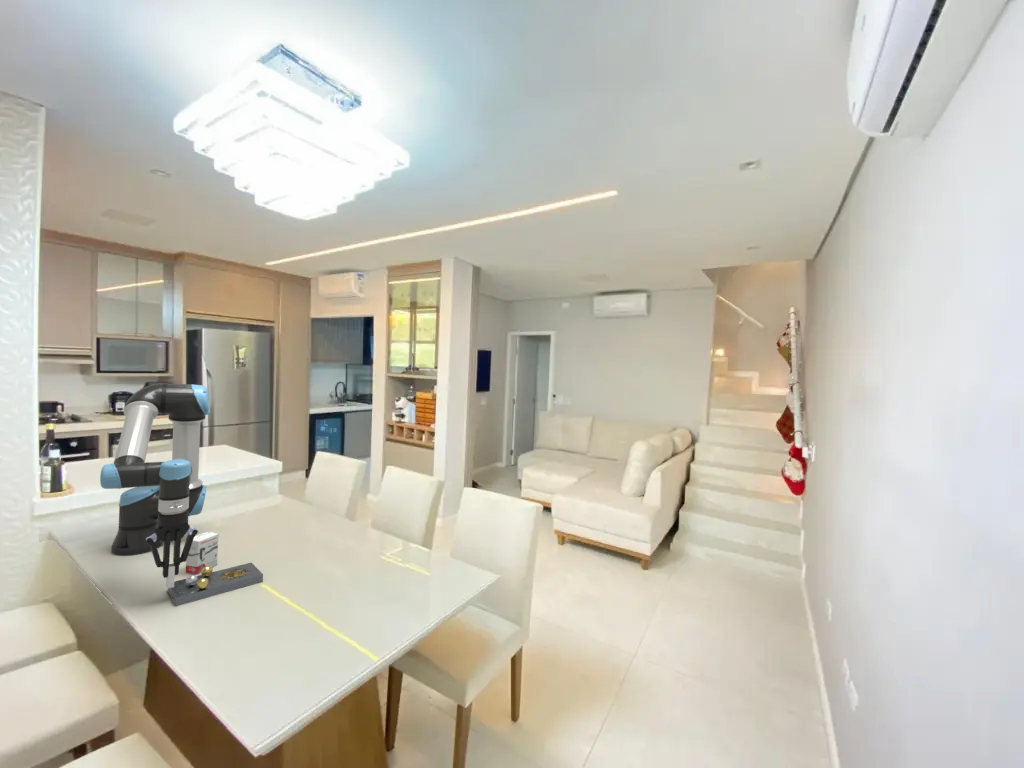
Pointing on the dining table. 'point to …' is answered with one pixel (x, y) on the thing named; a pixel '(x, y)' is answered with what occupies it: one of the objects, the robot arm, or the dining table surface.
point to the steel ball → (191, 580)
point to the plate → (216, 583)
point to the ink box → (202, 552)
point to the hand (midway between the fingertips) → (170, 586)
